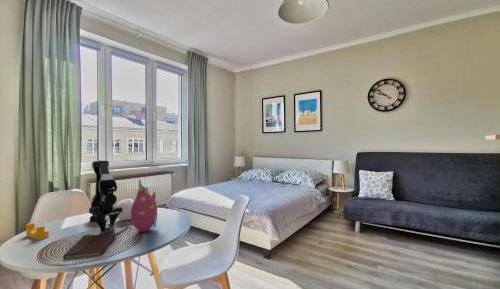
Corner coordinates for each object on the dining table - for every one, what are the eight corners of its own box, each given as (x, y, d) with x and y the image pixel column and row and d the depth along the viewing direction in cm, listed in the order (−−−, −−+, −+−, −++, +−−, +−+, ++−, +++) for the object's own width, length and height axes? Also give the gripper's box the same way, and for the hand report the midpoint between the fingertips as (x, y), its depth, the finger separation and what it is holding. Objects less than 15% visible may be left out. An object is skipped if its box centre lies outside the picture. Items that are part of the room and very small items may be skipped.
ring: (105, 228, 134) (105, 223, 134) (116, 229, 133) (116, 223, 133) (97, 233, 127) (97, 227, 127) (108, 233, 127) (108, 228, 127)
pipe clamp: (48, 236, 125) (48, 224, 125) (38, 240, 121) (38, 227, 121) (36, 233, 130) (36, 221, 130) (26, 236, 126) (26, 224, 126)
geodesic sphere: (128, 205, 164) (119, 192, 155) (146, 206, 162) (138, 192, 153) (115, 224, 153) (105, 210, 144) (135, 225, 150) (126, 212, 142)
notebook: (115, 236, 124) (115, 232, 124) (102, 255, 105) (102, 250, 105) (83, 239, 121) (83, 235, 120) (63, 259, 101) (63, 254, 101)
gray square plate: (104, 227, 138) (104, 221, 138) (126, 228, 137) (126, 222, 136) (85, 237, 124) (85, 230, 124) (110, 238, 123) (110, 232, 123)
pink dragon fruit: (156, 235, 127) (156, 180, 126) (128, 238, 123) (128, 182, 122) (158, 224, 144) (158, 176, 143) (134, 226, 140) (133, 177, 139)
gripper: (105, 196, 140) (105, 222, 140) (80, 205, 122) (80, 235, 122) (123, 197, 139) (123, 223, 139) (99, 206, 120) (100, 236, 121)
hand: (107, 229), depth 130 cm, fingers closed on ring, 6 cm apart
